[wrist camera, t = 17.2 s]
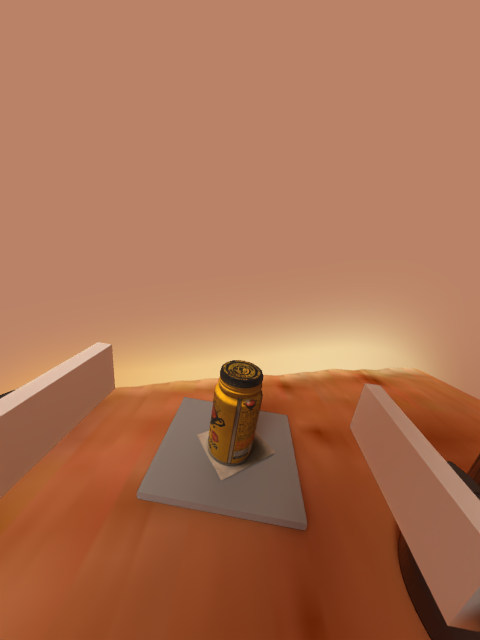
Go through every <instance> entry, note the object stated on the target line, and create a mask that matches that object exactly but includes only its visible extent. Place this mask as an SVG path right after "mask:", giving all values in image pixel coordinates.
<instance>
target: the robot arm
mask: <svg viewBox="0 0 480 640" xmlns="http://www.w3.org/2000/svg"><path fill="white" fill-rule="evenodd" d="M114 389H115V384H114V368H113V356H112V344H105V343H99V342H98V343H96V344H94V345H93V346H91V347H89V348H87V349H86V350H84V351H82V352H80V353H79V354H77V355H75V356H74V357H72V358H70V359H68V360H67V361H65V362H63V363H61V364H60V365H58V366H56V367H54V368H53V369H51V370H50V371H48V372H46V373H44V374H42V375H41V376H39V377H37V378H35V379H34V380H32V381H30V382H28V383H27V384H25V385H23V386H22V387H20V388H18V389H16V390H13V391H10V392H7V393H5V394H2V395H0V498H1V497H3V496H4V495H5V494H6V493H7V492H8V491H9V490H10V489H11V488H12V487H13V486H14V485H15V484H16V483H17V482H18V481H19V480H20V479H21V478H22V477H23V476H24V475H25V474H26V473H28V472H29V471H30V470H31V469H32V468H33V467H34V466H35V465H36V464H37V463H38V462H39V461H40V460H41V459H42V458H43V457H44V456H45V455H46V454H47V453H48V452H49V451H50V450H51V449H53V448H54V447H55V446H56V445H57V444H58V443H59V442H60V441H61V440H62V439H63V438H64V437H65V436H66V435H67V434H68V433H69V432H70V431H71V430H72V429H73V428H74V427H75V426H76V425H78V424H79V423H80V422H81V421H82V420H83V419H84V418H85V417H86V416H87V415H88V414H89V413H90V412H91V411H92V410H93V409H94V408H95V407H96V406H97V405H98V404H99V403H100V402H101V401H103V400H104V399H105V398H106V397H107V396H108V395H109V394H110V393H111V392H112V391H113V390H114ZM350 429H351V431H352V433H353V435H354V437H355V439H356V441H357V443H358V445H359V447H360V449H361V451H362V453H363V455H364V457H365V459H366V461H367V463H368V465H369V467H370V469H371V471H372V473H373V475H374V477H375V479H376V481H377V484H378V486H379V488H380V490H381V492H382V494H383V496H384V498H385V500H386V502H387V504H388V506H389V508H390V510H391V512H392V514H393V516H394V518H395V520H396V522H397V524H398V526H399V528H400V530H401V534H400V538H399V548H398V550H399V560H400V566H401V570H402V574H403V577H404V581H405V584H406V587H407V589H408V592H409V594H410V597H411V599H412V602H413V604H414V606H415V608H416V610H417V612H418V615H419V617H420V618H421V620H422V622H423V624H424V626H425V628H426V630H427V632H428V633H429V635H430V637H431V639H432V640H480V454H479V455H478V457H477V459H476V460H475V462H474V463H473V465H472V466H471V468H470V469H469V471H468V473H467V474H466V473H465V472H464V471H462V470H461V469H460V468H459V467H457V466H456V465H455V464H454V463H452V462H450V461H445V460H444V458H443V457H442V456H441V455H440V454H439V453H438V452H437V450H436V449H435V448H434V447H433V446H432V445H431V443H430V442H429V441H428V440H427V439H426V438H425V437H424V435H423V434H422V433H421V432H420V431H419V430H418V428H417V427H416V426H415V425H414V424H413V423H412V422H411V420H410V419H409V418H408V417H407V416H406V415H405V413H404V412H403V411H402V410H401V409H400V408H399V406H398V405H397V404H396V403H395V402H394V401H393V400H392V398H391V397H390V396H389V395H388V394H387V393H386V391H385V390H384V389H383V388H382V387H381V386H380V385H373V384H366V383H365V384H364V387H363V390H362V393H361V396H360V398H359V401H358V404H357V407H356V410H355V413H354V416H353V419H352V421H351V424H350Z"/></svg>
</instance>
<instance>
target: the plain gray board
mask: <svg viewBox="0 0 480 640" xmlns="http://www.w3.org/2000/svg"><path fill="white" fill-rule="evenodd" d="M212 408H213V402H210V401H204V400H198V399H193V398H187V397H184V399H183V401H182V403H181V405H180V407H179V409H178V411H177V413H176V415H175V417H174V419H173V421H172V423H171V425H170V427H169V429H168V431H167V433H166V435H165V437H164V439H163V441H162V443H161V445H160V447H159V449H158V451H157V453H156V455H155V457H154V459H153V461H152V463H151V465H150V467H149V469H148V471H147V473H146V475H145V477H144V479H143V481H142V483H141V485H140V487H139V489H138V491H137V499H142V500H147V501H153V502H158V503H163V504H168V505H174V506H179V507H184V508H189V509H194V510H200V511H205V512H210V513H215V514H221V515H226V516H231V517H236V518H242V519H247V520H252V521H257V522H263V523H268V524H273V525H278V526H284V527H289V528H294V529H299V530H304V531H305V530H306V527H307V519H306V513H305V508H304V502H303V497H302V492H301V486H300V481H299V475H298V470H297V465H296V459H295V454H294V448H293V443H292V438H291V432H290V427H289V421H288V416H287V415H283V414H277V413H271V412H266V411H260V412H259V416H258V421H257V426H256V431H257V432H258V433H259V434H260V435H261V437H262V438H263V439H264V440H265V441H266V442H267V443H268V445H269V446H270V447H271V448H272V449H273V450H274V451H275V453H273V454H271V455H269V456H268V457H266V458H264V459H262V460H260V461H258V462H256V463H254V464H253V465H251V466H249V467H247V468H245V469H244V470H242V471H240V472H237V473H236V474H234V475H232V476H229V477H227V478H225V479H223V480H221V479H220V477H219V475H218V474H217V472H216V470H215V468H214V466H213V465H212V463H211V461H210V459H209V457H208V456H207V454H206V452H205V450H204V448H203V446H202V444H201V442H200V440H199V438H198V436H197V434H201V433H204V432H206V431H209V428H210V421H211V415H212Z"/></svg>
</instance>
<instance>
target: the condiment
mask: <svg viewBox="0 0 480 640" xmlns="http://www.w3.org/2000/svg"><path fill="white" fill-rule="evenodd" d="M262 381H263V374H262V370H260V368H259V367H257V366H256V365H254V364H252V363H250V362H246V361H241V360H233V361H230V362H227V363H225V364H224V365H223V366H222V368H221V371H220V378H219V382H218V383H217V385H216V387H215V392H214V400H213V408H212V415H211V421H210V428H209V431H206V432H204V433H201V434H197V436H198V438H199V440H200V442H201V444H202V446H203V448H204V450H205V452H206V454H207V456H208V457H209V459H210V461H211V463H212V465H213V466H214V468H215V470H216V472H217V474H218V475H219V477H220V479H221V480H223V479H225V478H227V477H229V476H232V475H234V474H236V473H237V472H240V471H242V470H244V469H245V468H247V467H249V466H251V465H253V464H254V463H256V462H258V461H260V460H262V459H264V458H266V457H268V456H269V455H271V454H273V453H275V451H274V450H273V449H272V448H271V447H270V446H269V445H268V443H267V442H266V441H265V440H264V439H263V438H262V437H261V435H260V434H259V433H258V432H257V431H256V426H257V421H258V416H259V412H260V407H261V402H262V396H263V395H262V391H261V388H262Z"/></svg>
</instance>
